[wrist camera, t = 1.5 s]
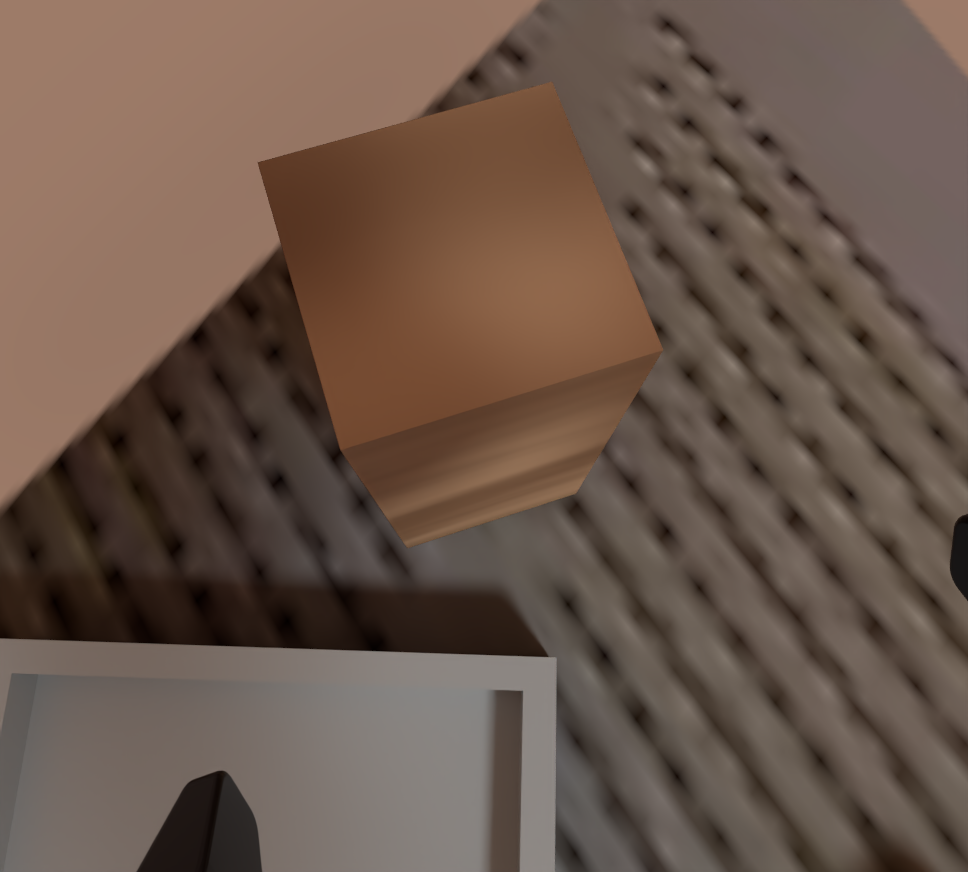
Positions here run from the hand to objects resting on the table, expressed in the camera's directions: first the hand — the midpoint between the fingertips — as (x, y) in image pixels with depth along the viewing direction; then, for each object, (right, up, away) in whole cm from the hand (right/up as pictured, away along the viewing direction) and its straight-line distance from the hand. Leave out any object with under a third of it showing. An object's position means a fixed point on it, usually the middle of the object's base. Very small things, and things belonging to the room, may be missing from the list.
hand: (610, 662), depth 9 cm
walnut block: (-2, +3, +14) cm, 14 cm away
